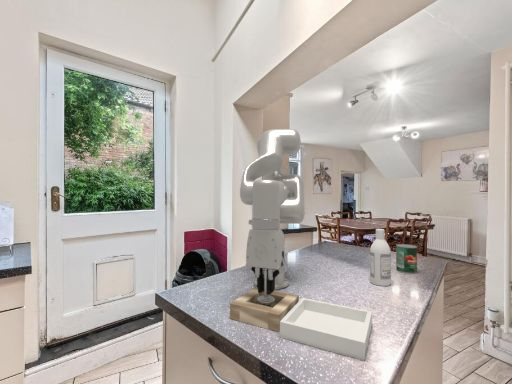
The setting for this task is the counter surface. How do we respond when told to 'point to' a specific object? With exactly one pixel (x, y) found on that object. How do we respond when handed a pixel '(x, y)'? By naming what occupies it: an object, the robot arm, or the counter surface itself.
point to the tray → (329, 327)
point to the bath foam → (380, 260)
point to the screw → (265, 298)
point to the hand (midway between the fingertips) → (265, 291)
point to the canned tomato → (406, 258)
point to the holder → (262, 309)
